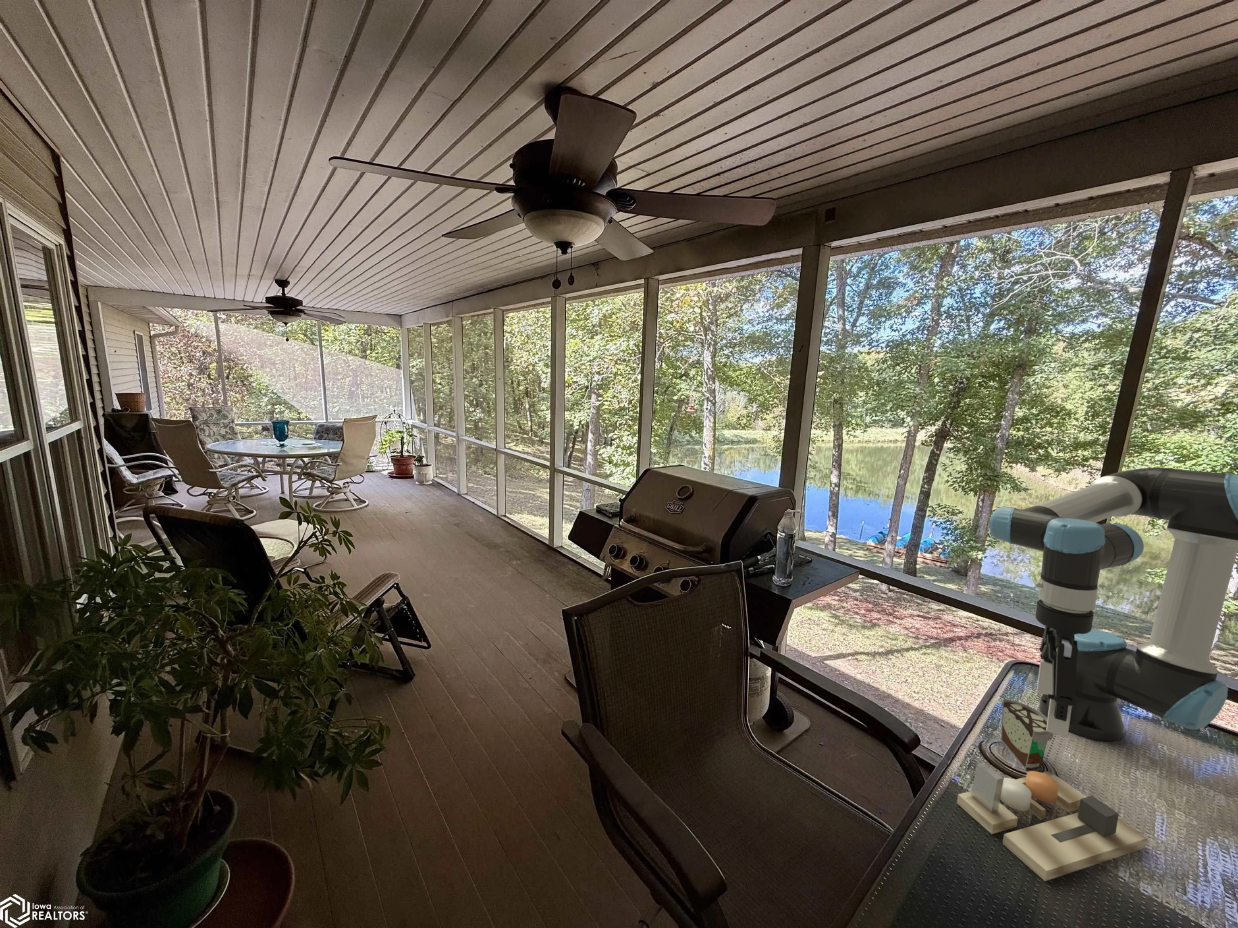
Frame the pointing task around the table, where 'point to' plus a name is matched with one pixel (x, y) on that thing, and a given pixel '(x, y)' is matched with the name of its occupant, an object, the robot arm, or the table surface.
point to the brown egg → (1042, 786)
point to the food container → (1024, 733)
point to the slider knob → (1098, 816)
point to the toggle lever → (987, 787)
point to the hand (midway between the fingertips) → (1050, 712)
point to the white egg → (1015, 794)
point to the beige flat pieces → (1055, 835)
